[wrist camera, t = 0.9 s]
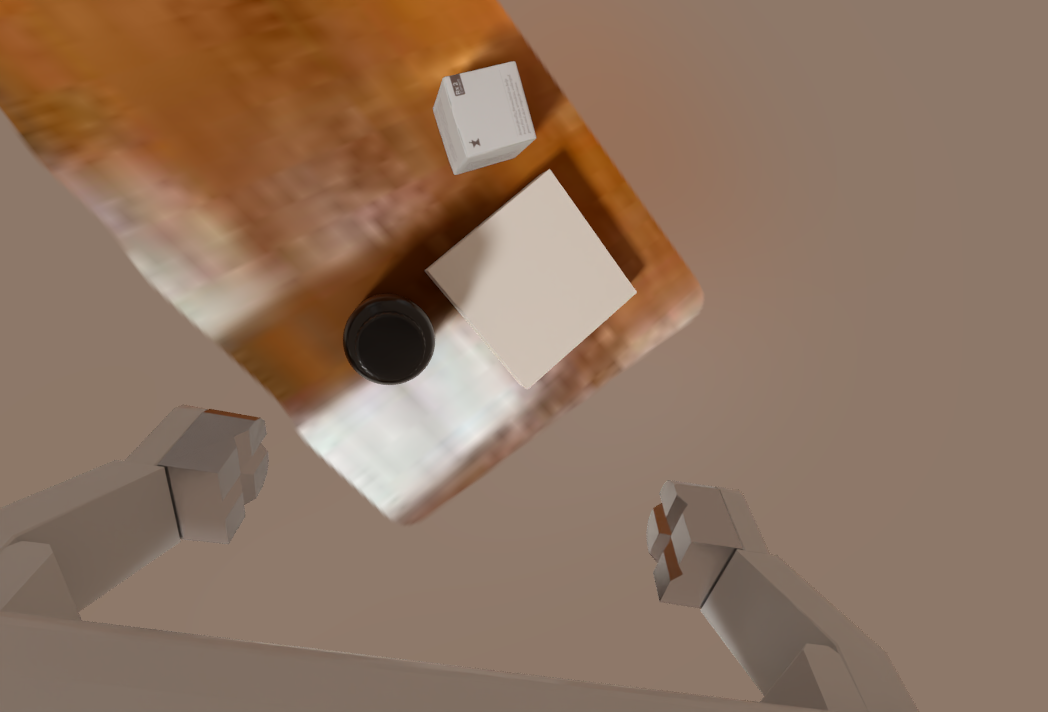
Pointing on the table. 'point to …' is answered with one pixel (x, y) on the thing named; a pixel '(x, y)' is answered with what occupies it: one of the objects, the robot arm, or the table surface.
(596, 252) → the stand
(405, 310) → the supplement bottle
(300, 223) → the table surface
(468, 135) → the skincare box
